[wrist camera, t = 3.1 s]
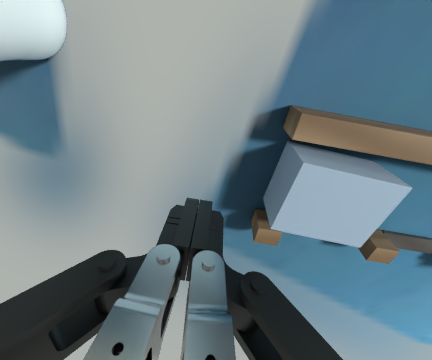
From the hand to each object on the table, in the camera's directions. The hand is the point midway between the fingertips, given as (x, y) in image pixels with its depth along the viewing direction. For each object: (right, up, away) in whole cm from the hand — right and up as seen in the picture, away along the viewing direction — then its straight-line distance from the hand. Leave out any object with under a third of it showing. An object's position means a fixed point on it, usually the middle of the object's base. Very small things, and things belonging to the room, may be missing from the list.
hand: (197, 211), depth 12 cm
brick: (+9, +2, +5) cm, 11 cm away
